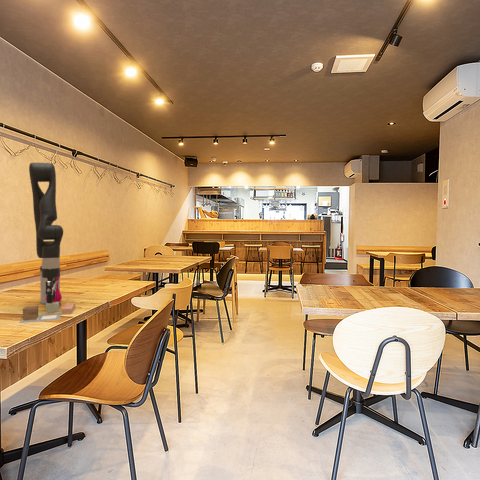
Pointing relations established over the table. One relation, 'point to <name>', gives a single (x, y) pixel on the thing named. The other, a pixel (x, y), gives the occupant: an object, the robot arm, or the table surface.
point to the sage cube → (52, 307)
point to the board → (44, 318)
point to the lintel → (68, 308)
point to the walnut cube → (30, 313)
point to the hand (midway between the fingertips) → (51, 301)
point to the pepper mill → (57, 293)
